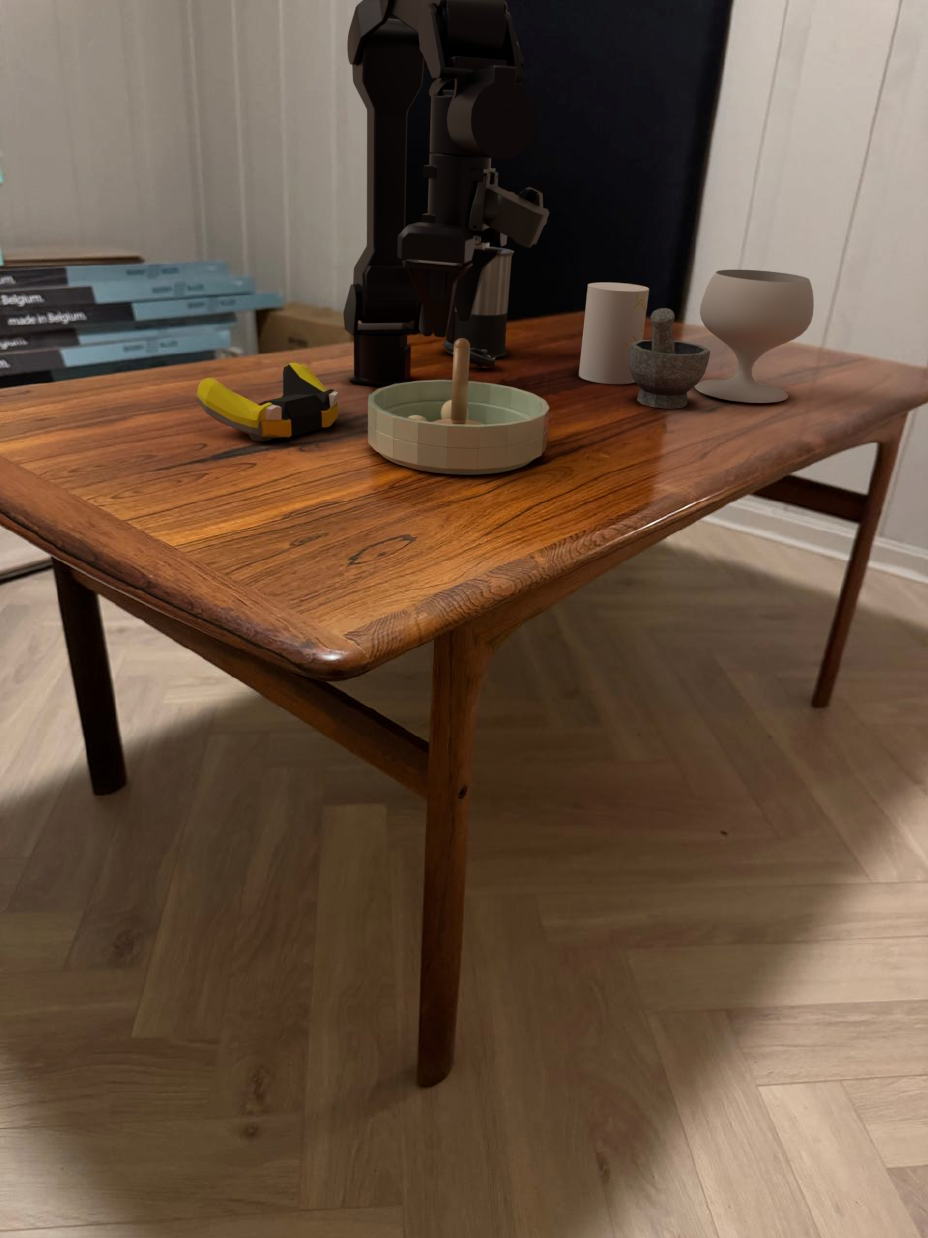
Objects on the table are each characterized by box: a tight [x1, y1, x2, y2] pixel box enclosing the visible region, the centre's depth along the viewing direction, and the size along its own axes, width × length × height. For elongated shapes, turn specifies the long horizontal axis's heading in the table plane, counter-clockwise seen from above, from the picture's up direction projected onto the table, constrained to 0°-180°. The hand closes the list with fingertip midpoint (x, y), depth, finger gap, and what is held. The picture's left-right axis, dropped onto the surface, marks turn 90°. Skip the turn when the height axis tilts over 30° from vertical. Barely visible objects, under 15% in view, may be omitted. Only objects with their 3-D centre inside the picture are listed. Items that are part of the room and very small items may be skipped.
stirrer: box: [433, 338, 485, 425], centre depth 93 cm, size 6×6×10 cm
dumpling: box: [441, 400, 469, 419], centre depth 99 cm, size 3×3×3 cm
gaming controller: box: [196, 361, 340, 442], centre depth 98 cm, size 15×6×10 cm
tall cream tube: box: [578, 282, 650, 385], centre depth 126 cm, size 8×8×12 cm
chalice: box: [694, 269, 815, 404], centre depth 120 cm, size 14×14×15 cm
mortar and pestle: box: [628, 307, 711, 410], centre depth 114 cm, size 11×9×12 cm
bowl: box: [367, 379, 550, 476], centre depth 94 cm, size 18×18×5 cm
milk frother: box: [418, 246, 515, 369], centre depth 132 cm, size 14×16×15 cm
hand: (452, 328), depth 92 cm, fingers open, 9 cm apart
